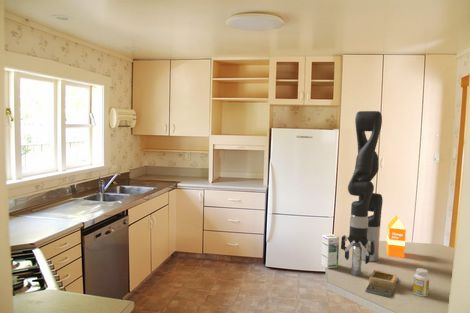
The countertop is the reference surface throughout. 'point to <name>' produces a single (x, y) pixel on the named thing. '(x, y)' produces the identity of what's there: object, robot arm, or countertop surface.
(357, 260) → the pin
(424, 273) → the supplement bottle
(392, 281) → the bolted socket base
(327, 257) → the syrup box
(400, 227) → the orange juice
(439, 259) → the countertop surface
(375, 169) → the robot arm
